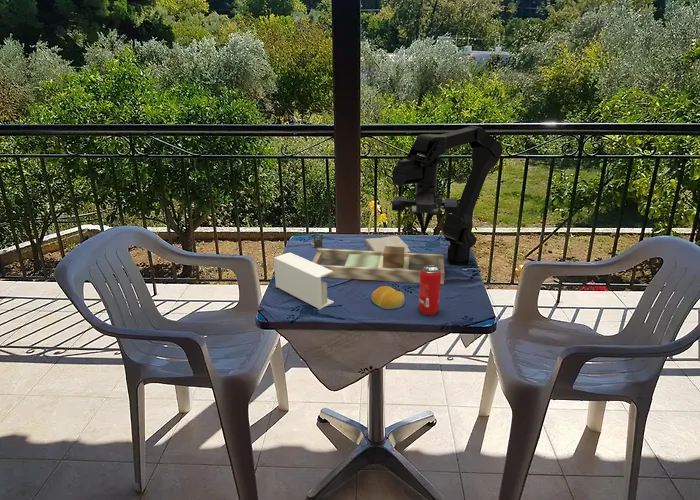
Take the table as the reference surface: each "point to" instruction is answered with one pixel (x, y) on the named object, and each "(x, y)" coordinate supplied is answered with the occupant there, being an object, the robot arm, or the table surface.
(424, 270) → the beverage can
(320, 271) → the white plastic beam
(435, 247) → the table surface
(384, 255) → the walnut block
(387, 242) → the washcloth
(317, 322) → the table surface
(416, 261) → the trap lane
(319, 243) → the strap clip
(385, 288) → the bread roll
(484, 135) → the robot arm
